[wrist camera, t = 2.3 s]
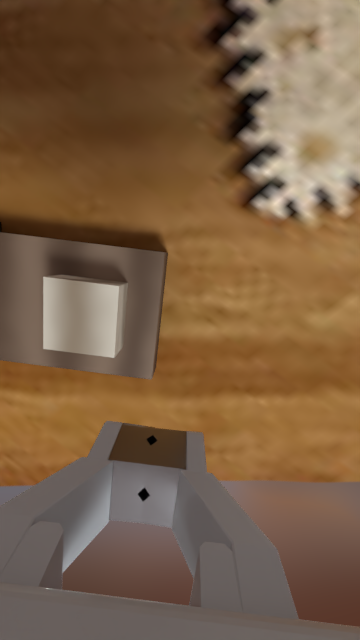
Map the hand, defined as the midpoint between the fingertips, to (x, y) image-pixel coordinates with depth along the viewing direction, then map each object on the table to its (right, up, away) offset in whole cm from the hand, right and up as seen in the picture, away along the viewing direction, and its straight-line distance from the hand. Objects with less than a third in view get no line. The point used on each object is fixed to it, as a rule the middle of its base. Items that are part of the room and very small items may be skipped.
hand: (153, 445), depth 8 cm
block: (-7, +5, +16) cm, 18 cm away
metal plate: (-9, +6, +19) cm, 22 cm away
